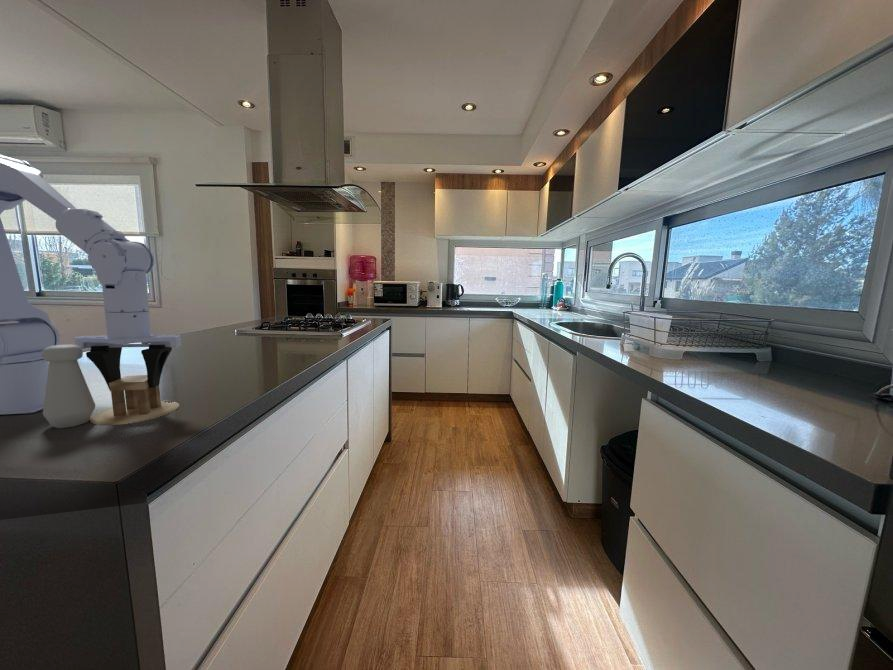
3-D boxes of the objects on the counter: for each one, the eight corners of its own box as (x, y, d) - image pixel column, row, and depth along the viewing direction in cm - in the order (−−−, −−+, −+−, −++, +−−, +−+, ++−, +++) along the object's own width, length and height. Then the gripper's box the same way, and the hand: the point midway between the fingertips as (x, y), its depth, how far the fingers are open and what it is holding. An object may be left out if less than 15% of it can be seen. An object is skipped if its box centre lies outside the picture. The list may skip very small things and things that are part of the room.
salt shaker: (106, 417, 59) (98, 343, 58) (67, 431, 54) (56, 349, 52) (76, 415, 60) (67, 341, 58) (33, 429, 54) (22, 347, 52)
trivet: (70, 429, 55) (70, 426, 55) (118, 404, 67) (118, 402, 67) (159, 423, 58) (159, 421, 58) (190, 400, 70) (190, 398, 70)
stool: (112, 416, 60) (108, 383, 59) (130, 407, 64) (126, 375, 64) (147, 414, 61) (143, 381, 60) (162, 405, 66) (158, 374, 65)
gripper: (56, 312, 54) (66, 396, 56) (165, 313, 58) (171, 391, 60) (88, 309, 61) (96, 384, 63) (184, 310, 65) (189, 380, 67)
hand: (134, 387), depth 62 cm, fingers open, 5 cm apart
